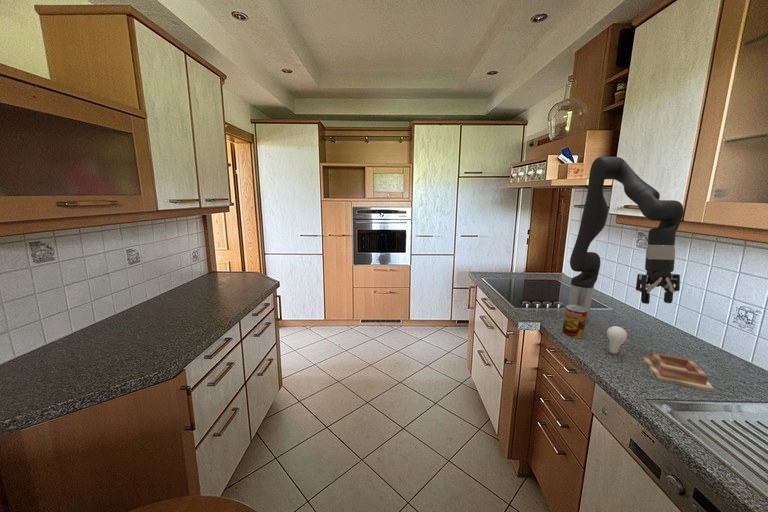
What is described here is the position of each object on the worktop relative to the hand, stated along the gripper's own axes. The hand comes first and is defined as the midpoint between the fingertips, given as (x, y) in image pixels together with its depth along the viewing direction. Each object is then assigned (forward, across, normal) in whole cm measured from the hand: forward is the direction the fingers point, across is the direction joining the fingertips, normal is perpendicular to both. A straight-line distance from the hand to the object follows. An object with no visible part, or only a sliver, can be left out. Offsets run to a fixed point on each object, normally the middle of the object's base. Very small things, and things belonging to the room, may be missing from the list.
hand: (656, 303), depth 106 cm
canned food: (+19, +12, -24) cm, 33 cm away
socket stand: (+23, -3, +6) cm, 24 cm away
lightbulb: (+22, +8, -8) cm, 24 cm away
